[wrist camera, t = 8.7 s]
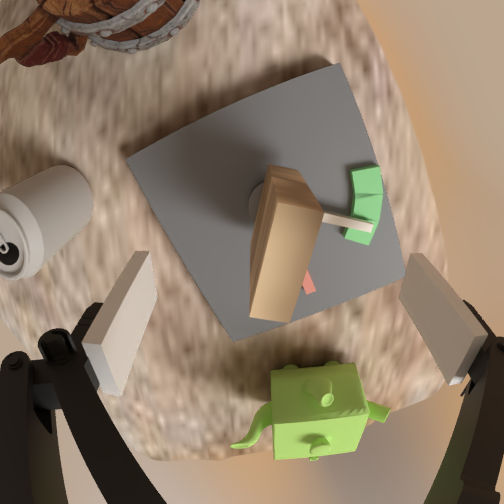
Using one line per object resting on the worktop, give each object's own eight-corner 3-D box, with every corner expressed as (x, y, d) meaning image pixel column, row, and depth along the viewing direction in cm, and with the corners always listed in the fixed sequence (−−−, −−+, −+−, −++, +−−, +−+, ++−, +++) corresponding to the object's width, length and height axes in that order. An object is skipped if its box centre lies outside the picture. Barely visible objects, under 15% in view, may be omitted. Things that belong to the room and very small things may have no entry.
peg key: (241, 233, 29) (235, 314, 19) (257, 157, 26) (261, 198, 16) (354, 255, 30) (400, 335, 20) (378, 186, 27) (445, 242, 17)
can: (60, 240, 32) (0, 298, 21) (30, 182, 29) (-43, 224, 18) (109, 214, 31) (49, 273, 20) (77, 149, 28) (0, 182, 17)
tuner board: (132, 155, 28) (122, 161, 26) (333, 65, 24) (342, 61, 22) (234, 330, 37) (233, 346, 34) (399, 267, 33) (409, 280, 31)
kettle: (232, 386, 41) (228, 456, 31) (307, 324, 37) (323, 399, 27) (308, 422, 46) (316, 482, 36) (380, 372, 41) (403, 436, 31)
